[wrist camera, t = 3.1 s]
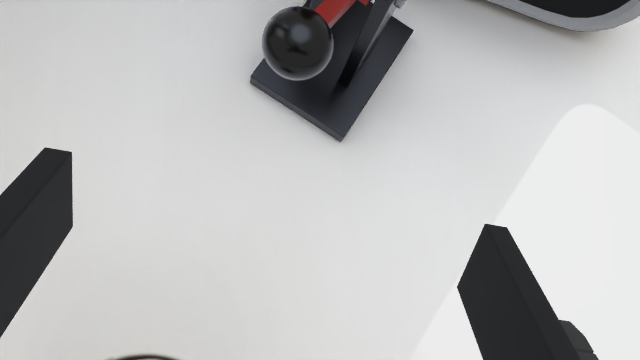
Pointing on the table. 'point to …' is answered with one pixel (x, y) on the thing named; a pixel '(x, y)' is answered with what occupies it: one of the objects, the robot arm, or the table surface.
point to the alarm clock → (577, 12)
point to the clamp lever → (302, 38)
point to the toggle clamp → (342, 67)
